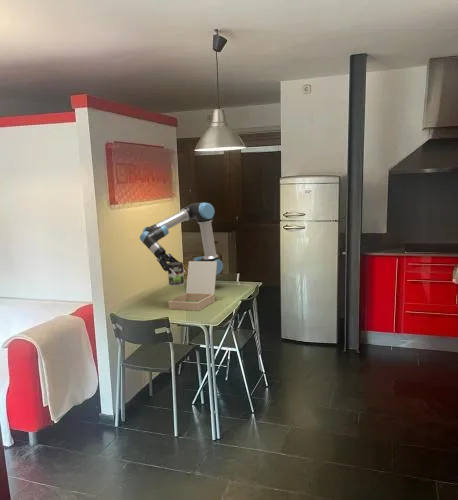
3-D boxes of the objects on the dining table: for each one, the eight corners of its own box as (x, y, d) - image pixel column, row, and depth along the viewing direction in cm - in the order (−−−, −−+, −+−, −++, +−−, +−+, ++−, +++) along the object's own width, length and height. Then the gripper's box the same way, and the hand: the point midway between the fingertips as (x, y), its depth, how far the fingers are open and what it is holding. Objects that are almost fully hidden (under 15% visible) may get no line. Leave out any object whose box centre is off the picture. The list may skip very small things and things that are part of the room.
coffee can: (185, 285, 294) (183, 263, 291) (169, 286, 292) (167, 265, 289) (183, 281, 304) (182, 261, 301) (168, 283, 302) (166, 262, 299)
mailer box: (192, 296, 318) (189, 261, 314) (220, 298, 308) (217, 261, 304) (169, 308, 292) (164, 269, 288) (198, 310, 282) (194, 270, 278)
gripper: (164, 251, 311) (185, 274, 307) (144, 257, 291) (167, 282, 287) (170, 244, 308) (191, 267, 304) (150, 249, 288) (173, 274, 284)
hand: (179, 274), depth 295 cm, fingers closed on coffee can, 10 cm apart
